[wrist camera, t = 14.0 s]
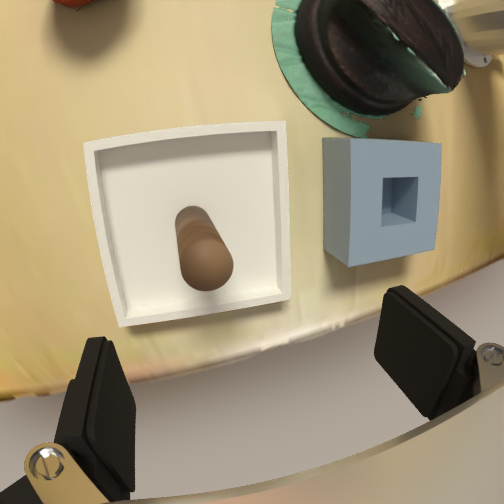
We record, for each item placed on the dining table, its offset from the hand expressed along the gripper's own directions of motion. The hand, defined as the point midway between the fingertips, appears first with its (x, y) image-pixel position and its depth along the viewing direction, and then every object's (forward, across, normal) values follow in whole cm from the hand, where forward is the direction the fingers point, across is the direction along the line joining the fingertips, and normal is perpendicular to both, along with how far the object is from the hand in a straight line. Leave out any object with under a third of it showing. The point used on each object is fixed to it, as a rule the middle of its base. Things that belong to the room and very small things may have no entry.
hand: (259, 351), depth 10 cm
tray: (+19, +1, +1) cm, 19 cm away
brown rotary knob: (+21, -17, -16) cm, 31 cm away
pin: (+19, +1, +1) cm, 19 cm away
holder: (+20, -17, 0) cm, 26 cm away
